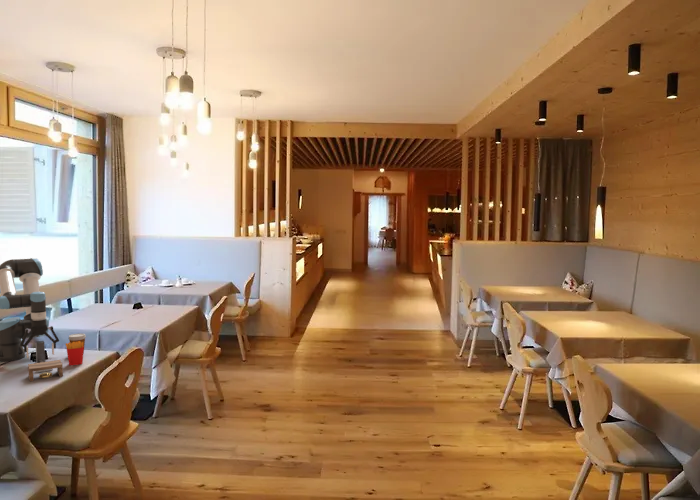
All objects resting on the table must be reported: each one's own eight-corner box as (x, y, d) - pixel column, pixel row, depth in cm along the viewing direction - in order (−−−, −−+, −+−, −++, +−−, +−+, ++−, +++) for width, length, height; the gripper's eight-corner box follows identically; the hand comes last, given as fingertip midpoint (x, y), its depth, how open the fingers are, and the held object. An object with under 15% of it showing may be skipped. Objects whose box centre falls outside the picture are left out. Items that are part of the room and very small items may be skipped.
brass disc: (38, 376, 280) (38, 373, 280) (51, 374, 284) (51, 371, 284) (39, 379, 275) (39, 376, 275) (52, 377, 279) (52, 374, 279)
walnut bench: (28, 376, 279) (28, 364, 279) (60, 371, 288) (60, 359, 287) (30, 381, 271) (29, 369, 271) (62, 376, 280) (62, 364, 279)
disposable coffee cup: (79, 357, 314) (78, 337, 313) (65, 356, 316) (64, 336, 315) (90, 352, 323) (89, 333, 322) (76, 351, 325) (75, 332, 324)
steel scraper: (32, 362, 303) (31, 342, 302) (48, 360, 308) (47, 340, 306) (35, 372, 285) (34, 351, 284) (52, 370, 289) (51, 349, 288)
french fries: (84, 361, 305) (83, 339, 304) (84, 363, 301) (83, 341, 300) (66, 364, 301) (65, 341, 300) (66, 366, 297) (65, 343, 296)
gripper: (14, 322, 291) (16, 360, 293) (63, 317, 305) (65, 354, 307) (13, 320, 297) (15, 357, 299) (62, 315, 311) (63, 351, 313)
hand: (40, 355), depth 303 cm, fingers open, 12 cm apart
